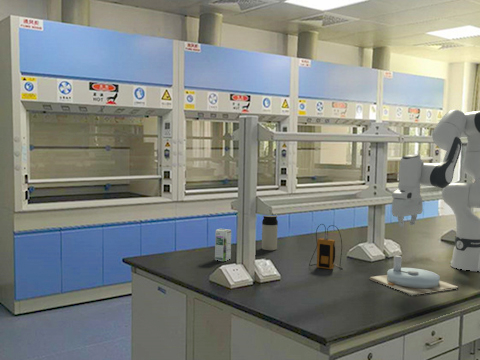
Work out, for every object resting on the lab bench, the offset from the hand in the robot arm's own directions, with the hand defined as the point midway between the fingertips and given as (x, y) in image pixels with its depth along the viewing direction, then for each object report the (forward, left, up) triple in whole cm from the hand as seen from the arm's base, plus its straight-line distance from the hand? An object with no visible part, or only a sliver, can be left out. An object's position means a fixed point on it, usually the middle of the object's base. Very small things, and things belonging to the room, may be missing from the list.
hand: (407, 225), depth 213 cm
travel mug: (+28, -68, -22) cm, 77 cm away
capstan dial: (+4, +9, -21) cm, 23 cm away
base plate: (+4, +9, -22) cm, 24 cm away
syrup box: (+60, -55, -22) cm, 85 cm away
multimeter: (+20, -27, -22) cm, 40 cm away
